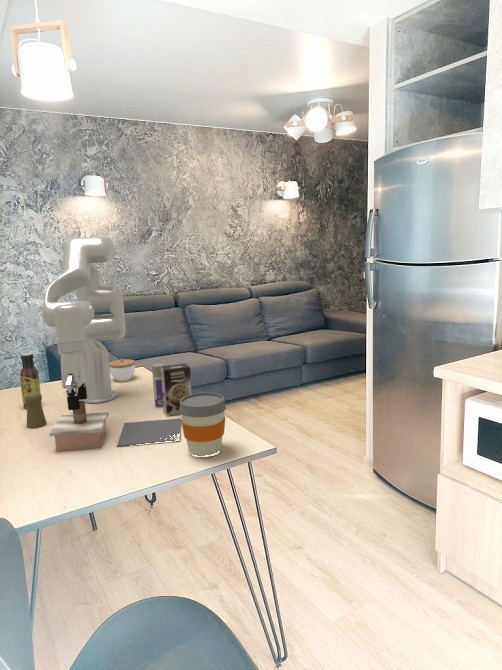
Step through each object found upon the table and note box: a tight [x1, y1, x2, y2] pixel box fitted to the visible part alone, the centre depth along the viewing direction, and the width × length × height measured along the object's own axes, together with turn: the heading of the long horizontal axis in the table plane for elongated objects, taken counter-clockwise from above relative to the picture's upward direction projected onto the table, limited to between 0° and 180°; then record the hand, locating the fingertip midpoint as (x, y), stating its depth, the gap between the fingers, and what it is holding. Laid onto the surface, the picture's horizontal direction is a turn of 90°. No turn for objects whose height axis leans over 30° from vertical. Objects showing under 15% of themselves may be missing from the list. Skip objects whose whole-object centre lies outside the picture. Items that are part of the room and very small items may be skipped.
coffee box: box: [161, 363, 193, 417], centre depth 166 cm, size 9×6×16 cm
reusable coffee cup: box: [180, 392, 227, 456], centre depth 134 cm, size 13×13×15 cm
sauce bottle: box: [19, 352, 42, 409], centre depth 177 cm, size 6×6×20 cm
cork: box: [24, 392, 47, 429], centre depth 159 cm, size 6×6×11 cm
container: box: [151, 362, 166, 409], centre depth 173 cm, size 5×5×15 cm
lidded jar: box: [109, 358, 136, 383], centre depth 209 cm, size 11×11×9 cm
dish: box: [54, 422, 107, 452], centre depth 145 cm, size 12×12×5 cm
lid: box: [49, 400, 110, 437], centre depth 144 cm, size 14×14×7 cm
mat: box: [116, 417, 182, 448], centre depth 150 cm, size 18×18×1 cm
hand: (78, 404), depth 143 cm, fingers open, 9 cm apart
